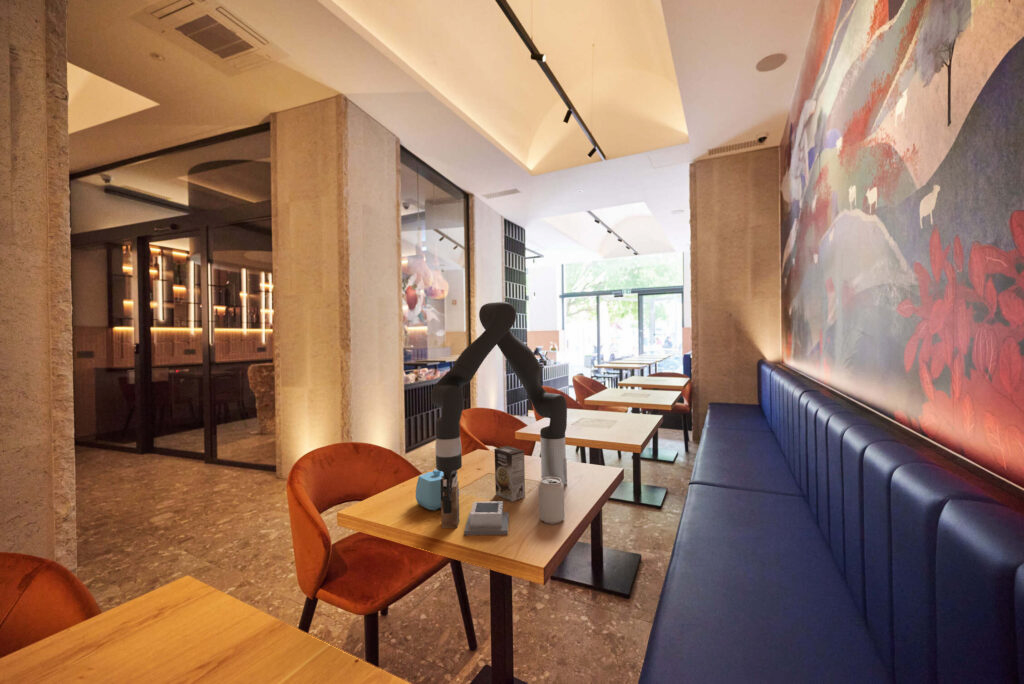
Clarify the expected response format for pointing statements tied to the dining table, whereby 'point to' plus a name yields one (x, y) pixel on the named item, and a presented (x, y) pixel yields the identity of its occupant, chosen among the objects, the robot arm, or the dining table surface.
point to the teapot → (429, 490)
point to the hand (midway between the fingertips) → (450, 507)
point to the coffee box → (509, 473)
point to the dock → (487, 519)
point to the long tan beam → (453, 517)
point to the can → (551, 500)
